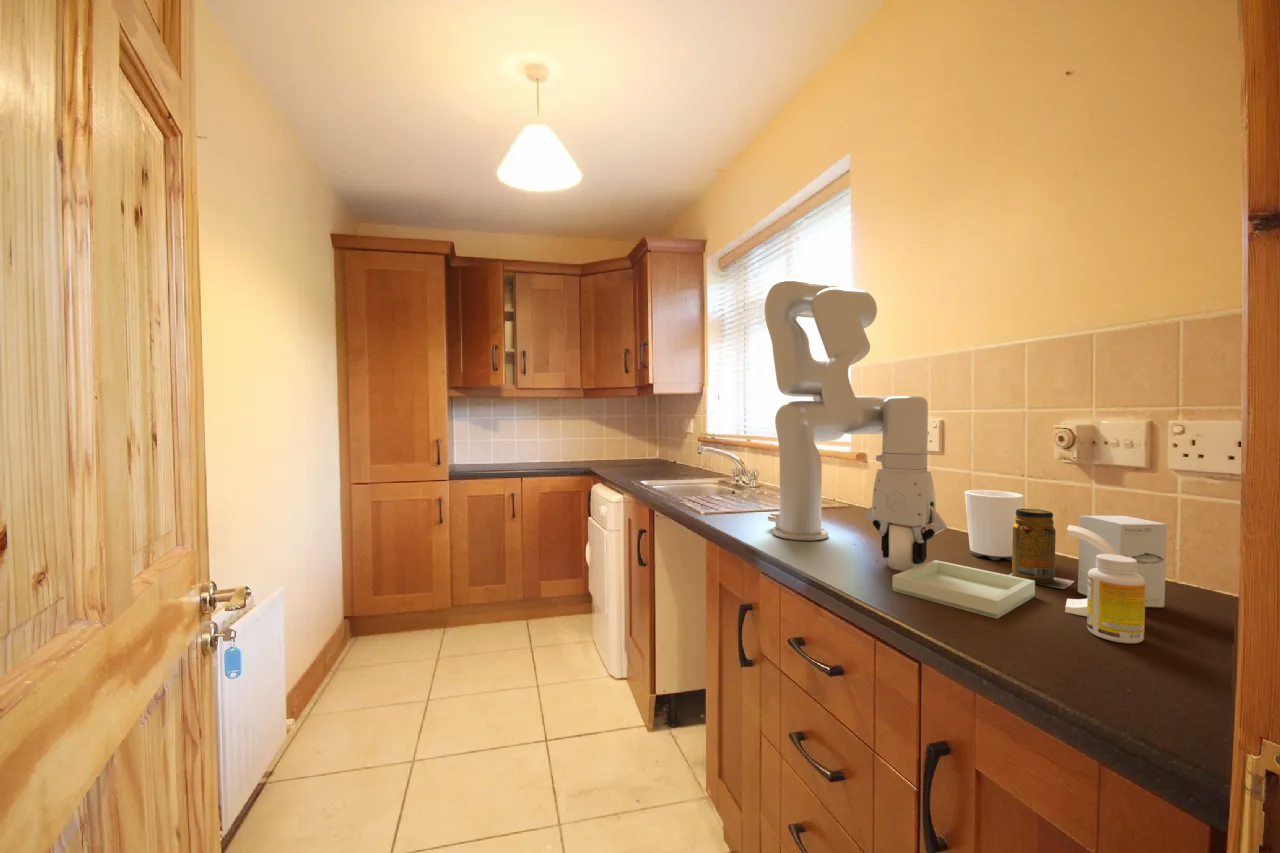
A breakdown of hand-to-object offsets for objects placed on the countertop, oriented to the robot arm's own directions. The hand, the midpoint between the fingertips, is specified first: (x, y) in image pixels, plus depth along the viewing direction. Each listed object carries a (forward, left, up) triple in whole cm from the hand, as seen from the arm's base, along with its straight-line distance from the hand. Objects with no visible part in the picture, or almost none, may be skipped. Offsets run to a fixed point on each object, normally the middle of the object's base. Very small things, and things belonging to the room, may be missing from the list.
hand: (903, 558), depth 100 cm
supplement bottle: (+32, -9, -2) cm, 33 cm away
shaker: (0, 0, -2) cm, 2 cm away
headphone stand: (+28, -1, -2) cm, 28 cm away
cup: (+7, +22, -2) cm, 23 cm away
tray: (+13, -7, -2) cm, 15 cm away
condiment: (+18, +11, -2) cm, 21 cm away
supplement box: (+29, +9, -2) cm, 30 cm away
